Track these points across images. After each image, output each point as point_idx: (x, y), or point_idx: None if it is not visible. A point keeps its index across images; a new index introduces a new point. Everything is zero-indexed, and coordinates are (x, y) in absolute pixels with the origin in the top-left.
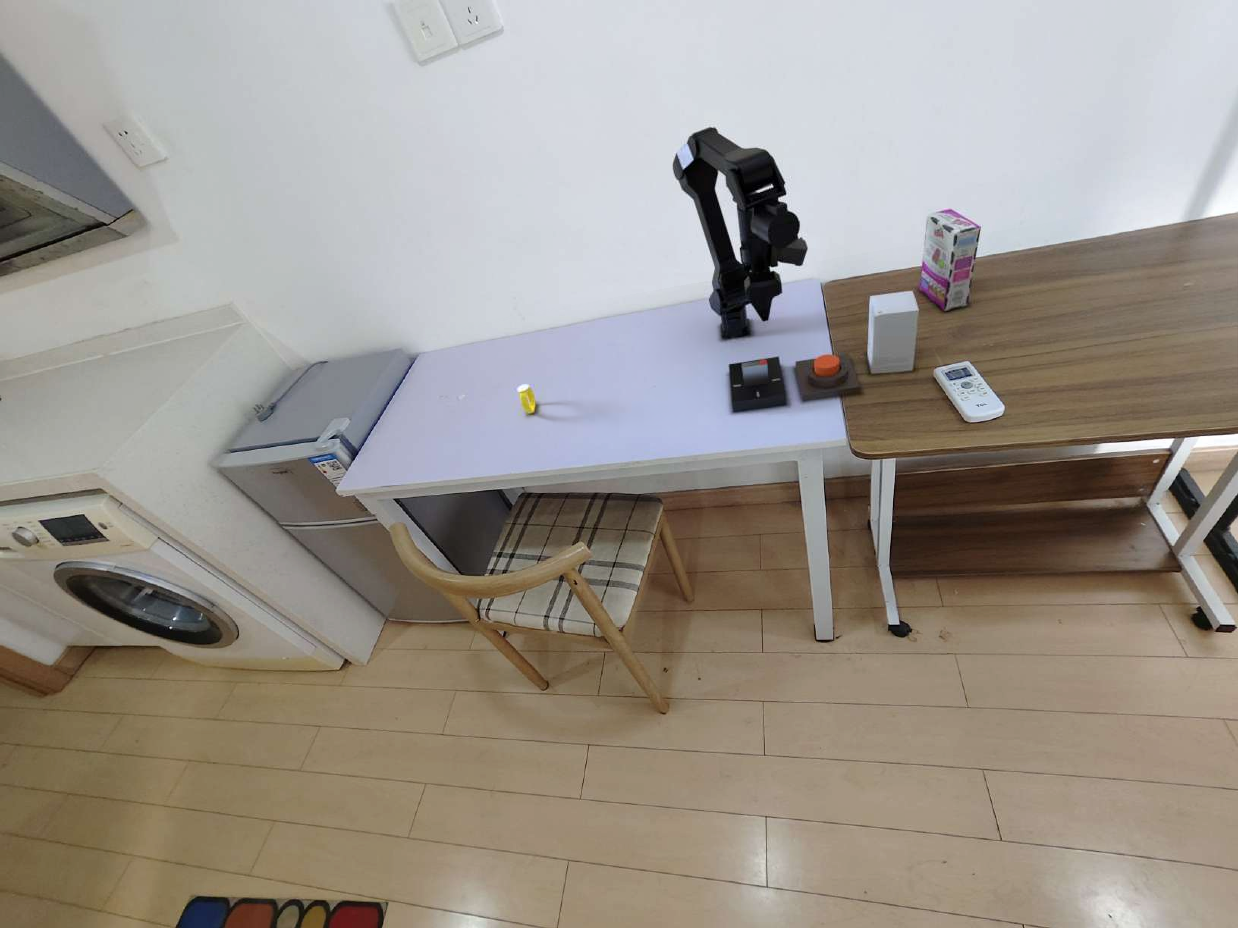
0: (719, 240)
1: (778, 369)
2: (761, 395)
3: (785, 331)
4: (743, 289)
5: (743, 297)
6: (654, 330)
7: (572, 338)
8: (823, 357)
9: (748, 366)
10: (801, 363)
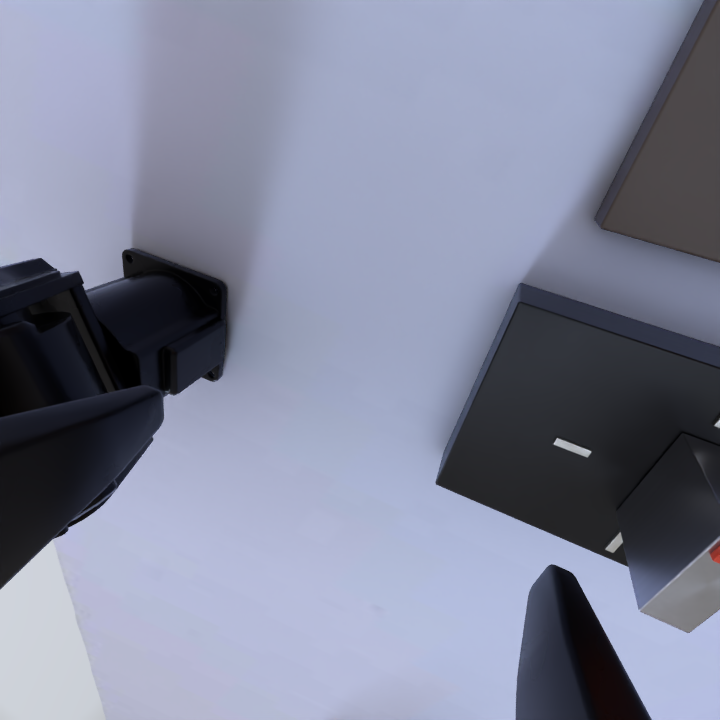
0: None
1: (638, 355)
2: None
3: (253, 132)
4: (20, 409)
5: (77, 389)
6: (120, 488)
7: (113, 603)
8: None
9: (705, 613)
10: (650, 205)
